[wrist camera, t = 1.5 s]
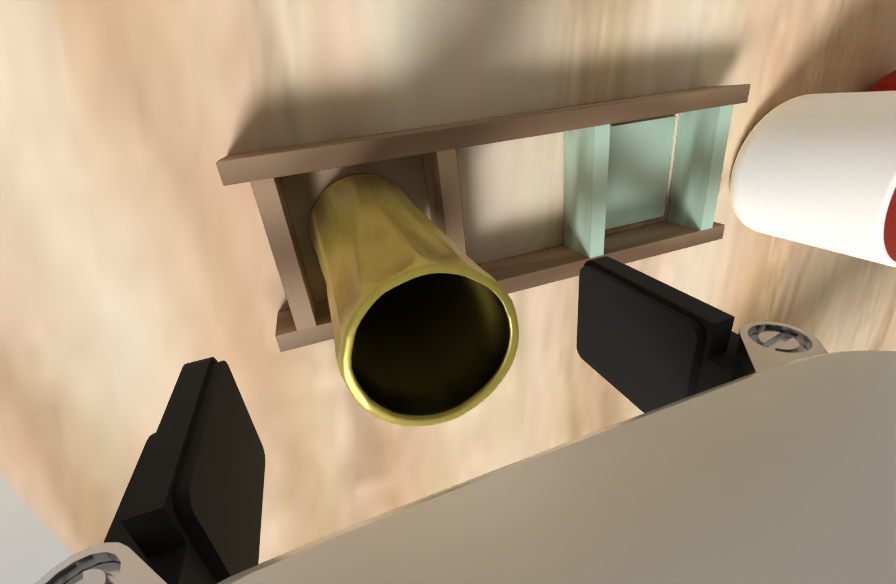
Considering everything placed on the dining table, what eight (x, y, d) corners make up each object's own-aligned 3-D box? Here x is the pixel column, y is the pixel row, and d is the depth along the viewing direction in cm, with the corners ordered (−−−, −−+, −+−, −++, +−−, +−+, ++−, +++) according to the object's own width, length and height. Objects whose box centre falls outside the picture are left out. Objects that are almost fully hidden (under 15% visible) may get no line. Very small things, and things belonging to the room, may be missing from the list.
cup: (698, 208, 31) (851, 245, 23) (770, 71, 29) (975, 52, 20) (772, 242, 35) (926, 284, 27) (841, 124, 33) (1037, 128, 24)
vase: (316, 163, 22) (338, 230, 9) (425, 184, 24) (560, 261, 12) (304, 271, 24) (309, 445, 11) (406, 281, 26) (504, 436, 14)
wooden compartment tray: (687, 228, 32) (722, 238, 29) (282, 326, 25) (280, 352, 22) (707, 86, 28) (750, 84, 25) (226, 156, 20) (215, 162, 18)
